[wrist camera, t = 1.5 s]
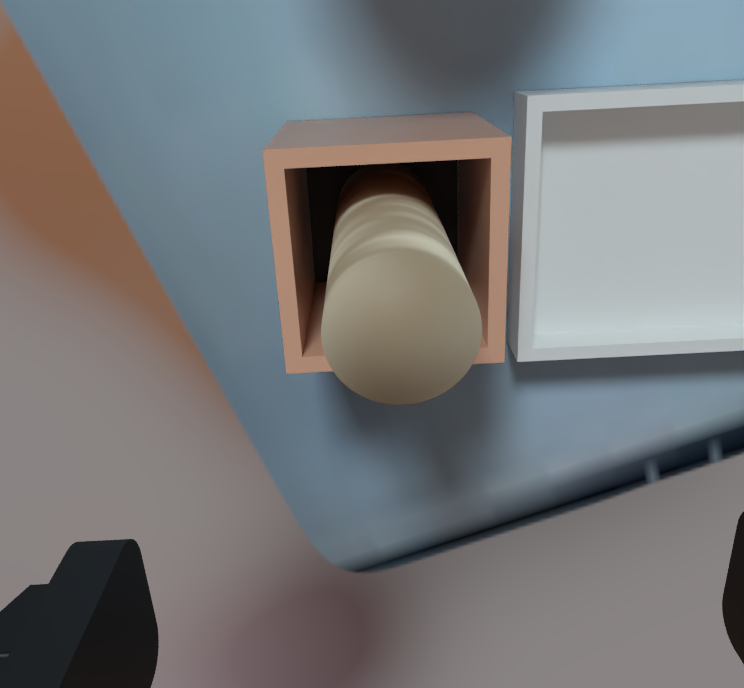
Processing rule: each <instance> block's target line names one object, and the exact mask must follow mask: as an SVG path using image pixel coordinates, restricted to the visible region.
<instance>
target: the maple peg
mask: <svg viewBox="0 0 744 688" xmlns="http://www.w3.org/2000/svg"><path fill="white" fill-rule="evenodd" d="M481 338H482V320H481V315H480V310H479V307H478V304H477V302H476V299H475V297H474V295H473V293H472V290H471V288H470V286H469V284H468V281H467V279H466V277H465V275H464V272H463V270H462V268H461V266H460V263H459V261H458V259H457V257H456V254H455V252H454V250H453V248H452V245H451V243H450V241H449V239H448V237H447V234H446V232H445V230H444V228H443V225H442V223H441V221H440V219H439V216H438V214H437V212H436V210H435V207H434V205H433V203H432V201H431V198H430V196H429V194H428V192H427V189H426V187H425V186H424V184H423V182H422V181H421V179H420V178H419V177H418V176H417V175H416V174H415V173H414V172H413V171H412V170H410V169H409V168H407V167H405V166H403V165H401V164H398V163H385V164H367V165H365V166H363V167H361V168H359V169H358V170H356V171H355V172H354V173H353V174H352V175H351V176H350V177H349V178H348V179H347V180H346V182H345V183H344V185H343V187H342V189H341V191H340V194H339V198H338V204H337V211H336V219H335V226H334V234H333V242H332V249H331V257H330V264H329V272H328V279H327V287H326V294H325V302H324V309H323V317H322V324H321V341H322V347H323V351H324V354H325V357H326V359H327V361H328V364H329V366H330V367H331V369H332V370H333V372H334V373H335V375H336V376H337V377H338V378H339V379H340V381H341V382H343V383H344V384H345V385H346V386H347V387H348V388H349V389H351V390H352V391H354V392H355V393H357V394H359V395H361V396H363V397H364V398H367V399H370V400H372V401H375V402H379V403H383V404H391V405H408V404H416V403H420V402H424V401H427V400H430V399H433V398H435V397H437V396H439V395H441V394H443V393H445V392H446V391H448V390H449V389H451V388H452V387H453V386H454V385H456V384H457V383H458V382H459V381H460V380H461V379H462V378H463V377H464V376H465V374H466V373H467V372H468V370H469V369H470V368H471V366H472V364H473V362H474V360H475V359H476V356H477V353H478V351H479V348H480V343H481Z"/></svg>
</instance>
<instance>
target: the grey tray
mask: <svg viewBox="0 0 744 688" xmlns="http://www.w3.org/2000/svg"><path fill="white" fill-rule="evenodd" d="M507 342H508V344H509V346H510V348H511V350H512V352H513V354H514V356H515V358H516V360H517V362H527V361H547V360H566V359H586V358H606V357H625V356H645V355H665V354H684V353H704V352H724V351H743V350H744V79H742V80H723V81H704V82H685V83H666V84H647V85H628V86H609V87H590V88H571V89H552V90H533V91H515V92H514V124H513V156H512V187H511V219H510V251H509V283H508V314H507Z"/></svg>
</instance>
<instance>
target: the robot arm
mask: <svg viewBox="0 0 744 688" xmlns="http://www.w3.org/2000/svg"><path fill="white" fill-rule="evenodd" d="M722 601H723V602H722V609H723V618H724V623H725V627H726V630H727V634H728V636H729V639H730V641H731V643H732V645H733V647H734V649H735V651H736V652H737V654H738V656H739V657H740V659H741V660H742V662H743V664H744V512H743V513H742V514H741V516H740V518H739V520H738V524H737V529H736V534H735V539H734V544H733V549H732V554H731V558H730V564H729V569H728V573H727V579H726V584H725V588H724V593H723V600H722ZM157 657H158V627H157V622H156V617H155V613H154V609H153V604H152V600H151V595H150V591H149V586H148V582H147V577H146V573H145V569H144V564H143V560H142V555H141V551H140V548H139V546H138V544H137V542H136V541H135V540H133V539H125V540H105V541H86V542H75V543H74V544H72V545H71V546H70V547H69V549H68V550H67V552H66V554H65V556H64V557H63V559H62V561H61V563H60V564H59V566H58V568H57V570H56V572H55V573H54V575H53V577H52V579H51V580H50V582H49V584H41V585H30V586H29V587H28V588H26V589H25V590H24V591H23V592H22V593H21V594H20V595H19V596H17V597H16V598H15V599H14V600H13V601H12V602H11V603H10V604H8V605H7V606H6V607H5V608H4V609H3V610H2V611H1V612H0V688H150V687H151V684H152V681H153V678H154V674H155V670H156V665H157Z"/></svg>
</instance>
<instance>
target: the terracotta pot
mask: <svg viewBox="0 0 744 688" xmlns="http://www.w3.org/2000/svg"><path fill="white" fill-rule="evenodd" d="M262 151H263V160H264V170H265V179H266V188H267V197H268V206H269V216H270V225H271V234H272V243H273V253H274V262H275V271H276V280H277V289H278V299H279V308H280V317H281V326H282V336H283V345H284V354H285V363H286V372H287V374H288V373H308V372H327V371H333V370H332V369H331V367H330V366H329V364H328V361H327V359H326V357H325V354H324V351H323V347H322V341H321V324H322V317H323V309H324V302H325V294H326V287H327V282H323V283H316V282H315V270H314V258H313V246H312V234H311V223H310V211H309V199H308V187H307V176H306V168H309V167H328V166H347V165H366V164H385V163H405V162H424V161H443V160H458V261H459V263H460V266H461V268H462V270H463V272H464V275H465V277H466V279H467V281H468V284H469V286H470V288H471V290H472V293H473V295H474V297H475V299H476V302H477V304H478V307H479V310H480V315H481V320H482V338H481V343H480V348H479V351H478V353H477V356H476V359H475V360H474V362H473V364H485V363H504V362H505V330H506V297H507V264H508V231H509V199H510V166H511V136H509V135H508V134H506V133H505V132H503V131H502V130H500V129H498V128H497V127H495V126H494V125H492V124H491V123H489V122H488V121H486V120H484V119H483V118H481V117H480V116H478V115H477V114H475V113H474V112H458V113H439V114H420V115H401V116H382V117H363V118H343V119H324V120H305V121H287V122H286V123H285V125H284V126H283V127H282V128H281V129H280V130H279V131H278V133H277V134H276V135H275V136H274V137H273V138H272V139H271V141H270V142H269V143H268V144H267V145H266V146H265V147H264V149H263V150H262Z"/></svg>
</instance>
